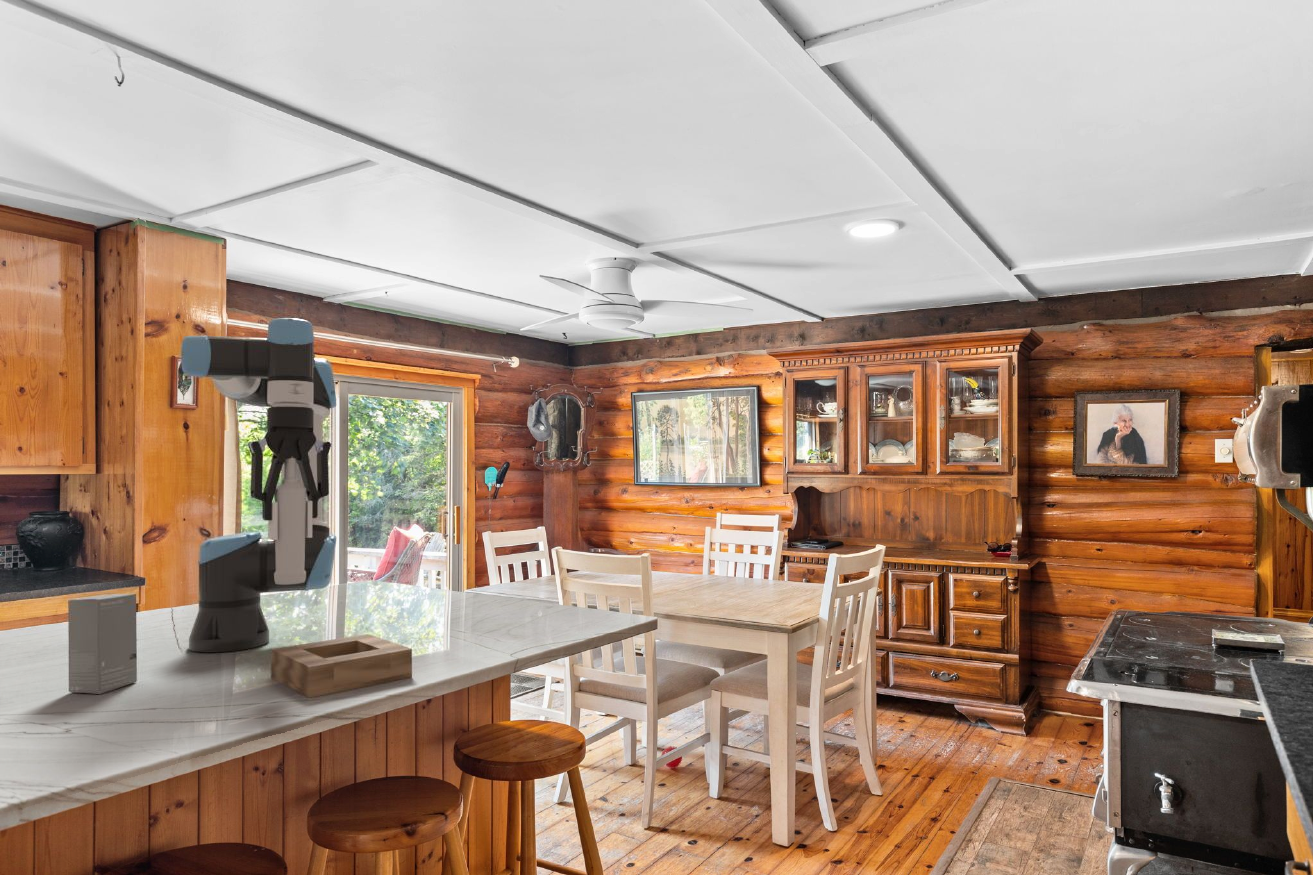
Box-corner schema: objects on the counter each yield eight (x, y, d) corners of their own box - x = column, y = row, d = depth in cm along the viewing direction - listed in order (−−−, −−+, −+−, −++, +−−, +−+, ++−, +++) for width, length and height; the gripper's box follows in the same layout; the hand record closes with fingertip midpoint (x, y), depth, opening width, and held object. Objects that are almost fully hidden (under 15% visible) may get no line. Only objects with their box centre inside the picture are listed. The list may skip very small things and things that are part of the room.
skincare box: (99, 695, 138) (100, 599, 138) (63, 693, 139) (64, 598, 140) (140, 681, 146) (141, 591, 147) (106, 680, 148) (106, 590, 148)
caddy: (270, 677, 148) (271, 649, 149) (368, 659, 161) (368, 633, 161) (309, 697, 135) (309, 666, 135) (412, 677, 148) (411, 648, 148)
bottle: (312, 581, 147) (312, 440, 148) (287, 585, 142) (288, 439, 143) (292, 579, 149) (292, 441, 150) (267, 583, 145) (267, 440, 146)
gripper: (241, 403, 138) (240, 543, 137) (349, 407, 150) (349, 536, 149) (229, 406, 144) (228, 540, 143) (334, 409, 156) (334, 533, 155)
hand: (290, 538), depth 146 cm, fingers closed on bottle, 5 cm apart
